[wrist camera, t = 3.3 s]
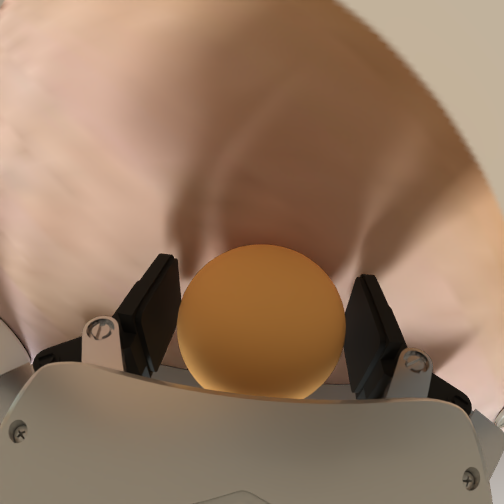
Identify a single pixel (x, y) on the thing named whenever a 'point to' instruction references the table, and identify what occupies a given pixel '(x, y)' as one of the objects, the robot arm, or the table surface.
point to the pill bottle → (10, 350)
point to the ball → (261, 323)
